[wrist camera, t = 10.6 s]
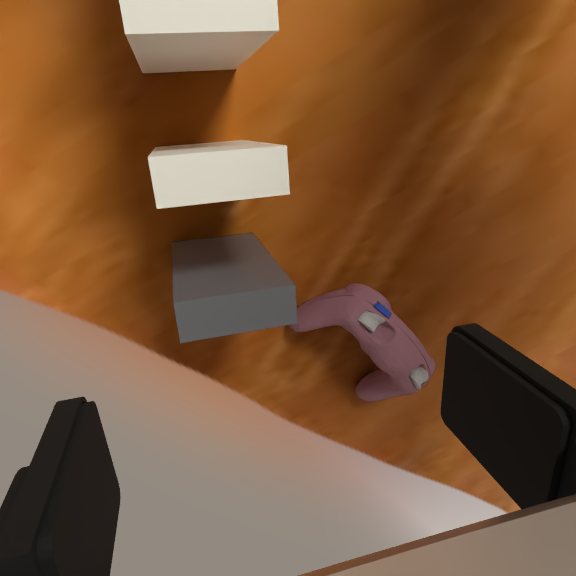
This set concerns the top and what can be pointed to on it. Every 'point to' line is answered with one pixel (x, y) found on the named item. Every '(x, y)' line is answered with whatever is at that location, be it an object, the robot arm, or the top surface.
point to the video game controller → (372, 339)
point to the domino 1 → (197, 32)
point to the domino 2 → (218, 172)
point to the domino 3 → (229, 288)
